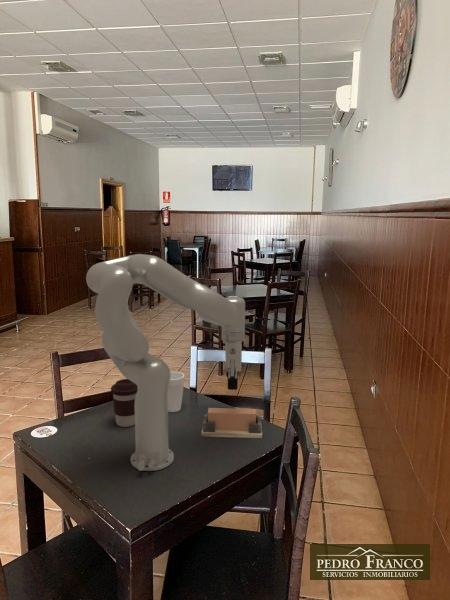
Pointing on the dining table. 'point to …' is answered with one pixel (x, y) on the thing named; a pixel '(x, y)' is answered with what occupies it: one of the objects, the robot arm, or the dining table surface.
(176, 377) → the foam cup
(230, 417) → the orange brown rectangular block
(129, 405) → the coffee cup
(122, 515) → the dining table surface
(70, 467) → the dining table surface
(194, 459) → the dining table surface
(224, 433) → the board
